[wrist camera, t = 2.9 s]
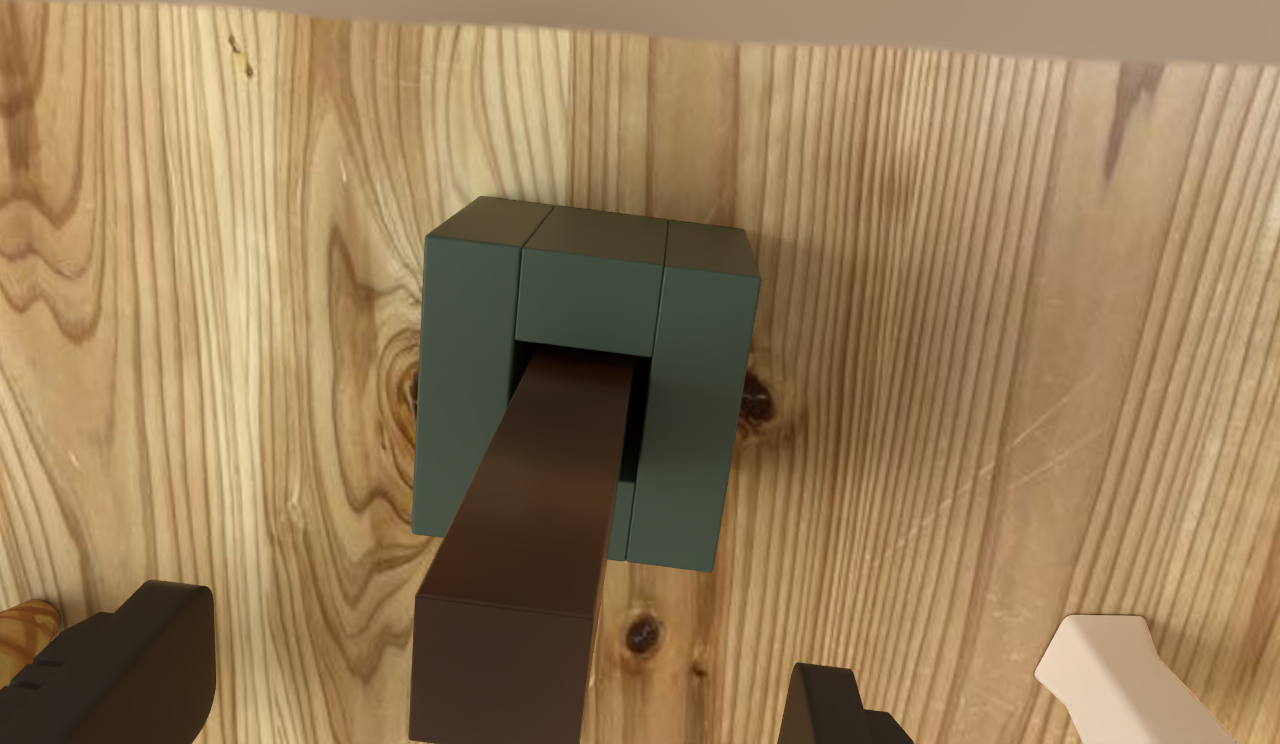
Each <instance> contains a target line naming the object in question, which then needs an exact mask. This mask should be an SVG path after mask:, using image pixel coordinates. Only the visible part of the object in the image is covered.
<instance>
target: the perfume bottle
mask: <svg viewBox="0 0 1280 744" xmlns="http://www.w3.org/2000/svg"><path fill="white" fill-rule="evenodd" d="M1035 678H1036V679H1037V680H1038V681H1040V682H1041V683H1042V684H1043V685H1044V686H1045V687H1046V688H1047V689H1048V690H1049V691H1050V692H1051V693H1053V694H1054V695H1055V696H1056V697H1057V698H1058V699H1059V700H1060V701H1061V702H1062V703H1063V704H1064V705H1066V707H1067V709H1068V712H1069V714H1070V716H1071V718H1072V720H1073V723H1074V725H1075V727H1076V729H1077V731H1078V733H1079V736H1080V738H1081V740H1082V742H1083V744H1240V743H1239V742H1238V741H1237V740H1236V738H1235V737H1234V736H1233V735H1232V734H1231V733H1230V732H1229V731H1228V730H1227V729H1226V728H1225V727H1224V726H1223V725H1222V724H1221V723H1220V722H1219V720H1218V719H1217V718H1216V717H1215V716H1214V715H1213V714H1212V713H1211V712H1210V711H1209V710H1208V709H1207V708H1206V707H1205V706H1204V705H1203V704H1202V702H1201V701H1200V700H1199V699H1198V698H1197V697H1196V696H1195V695H1194V694H1193V693H1192V692H1191V691H1190V690H1189V689H1188V688H1187V687H1186V686H1185V684H1184V683H1183V682H1182V681H1181V680H1180V679H1179V678H1178V677H1177V676H1176V675H1175V674H1174V673H1173V672H1172V671H1171V670H1170V669H1169V667H1168V666H1167V665H1166V664H1165V663H1164V662H1163V661H1162V660H1161V659H1160V658H1159V656H1158V654H1157V651H1156V648H1155V645H1154V642H1153V640H1152V637H1151V634H1150V631H1149V629H1148V626H1147V623H1146V621H1145V619H1144V618H1143V617H1141V616H1118V615H1069V616H1067V617H1065V618H1064V620H1063V621H1062V623H1061V624H1060V626H1059V628H1058V630H1057V632H1056V634H1055V635H1054V637H1053V639H1052V641H1051V643H1050V645H1049V647H1048V648H1047V650H1046V652H1045V654H1044V656H1043V658H1042V659H1041V661H1040V663H1039V665H1038V667H1037V669H1036V671H1035Z"/></svg>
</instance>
